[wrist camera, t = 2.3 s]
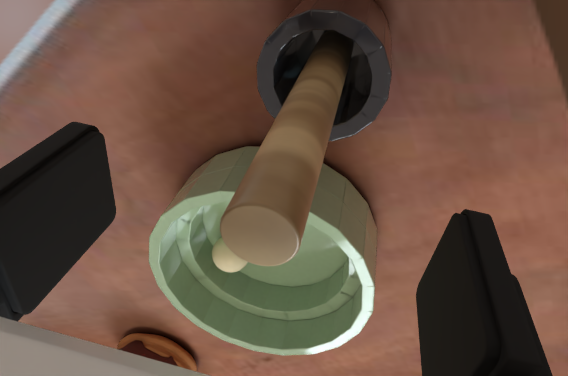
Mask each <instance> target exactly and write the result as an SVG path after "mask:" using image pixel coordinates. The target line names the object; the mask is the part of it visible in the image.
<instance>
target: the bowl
mask: <svg viewBox="0 0 568 376" xmlns="http://www.w3.org/2000/svg"><path fill="white" fill-rule="evenodd" d="M259 148H260V147H256V146H247V147H242V148H239V149H235V150H232V151H228V152H225V153H221V154H217V155H215V156H214V157H213V158H211V159H210V160H209V161H207V162H206V163H205V164H203V165H202V166H201V167H199V168H198V169H196V170H195V171H194V172H193V174H192V175H191V176H190V178H189V179H188V180H187V182H186V183H185V184H184V186H183V187H182V188H181V190H180V191H179V192H178V194H177V195H176V196H175V198H174V199H173V200H172V202H171V203H170V204H169V206H168V207H167V208H166V210H165V211H164V212H163V214H162V215H161V217H160V219H159V220H158V222H157V224H156V226H155V228H154V230H153V231H152V233H151V235H150V238H149V264H150V266H151V269H152V271H153V274H154V277H155V279H156V282H157V284H158V286H159V288H160V289H161V290H162V291H163V293H164V294H165V295H166V297H167V298H168V299H169V301H170V302H171V303H172V304H173V306H174V307H175V308H176V309H177V310H178V311H180V312H181V313H182V314H183V315H185V316H186V317H187V318H188V319H189V320H191V321H192V322H193V323H194V324H195V325H197V326H198V327H200V328H202V329H204V330H205V331H207V332H209V333H211V334H213V335H215V336H216V337H218V338H220V339H222V340H224V341H227V342H230V343H232V344H235V345H238V346H241V347H244V348H247V349H250V350H254V351H258V352H264V353H271V354H277V355H305V354H316V353H319V352H323V351H326V350H330V349H333V348H337V347H339V346H341V345H343V344H344V343H346V342H347V341H349V340H350V339H351V338H353V337H354V336H356V335H357V334H359V333H360V332H361V330H362V329H363V327H364V325H365V324H366V322H367V321H368V319H369V317H370V316H371V314H372V313H373V308H374V294H375V275H376V251H377V228H376V225H375V222H374V220H373V217H372V214H371V211H370V209H369V206H368V204H367V202H366V201H365V199H364V198H363V197H362V196H361V195H360V193H359V192H358V191H357V190H356V189H355V187H354V186H353V185H352V184H351V183H350V181H349V180H348V179H346V178H345V177H344V176H342V175H341V174H339V173H338V172H336V171H335V170H333V169H332V168H330V167H329V166H327V165H326V164H324V163H323V164H322V167H321V171H320V175H319V178H318V182H317V186H316V190H315V193H314V197H313V201H312V204H311V208H310V212H309V216H308V219H307V223H306V227H305V231H304V234H303V238H302V242H301V245H300V249H299V251H298V253H297V254H296V255H295V256H294V257H293V258H292V259H291V260H289V261H288V262H286V263H284V264H281V265H277V266H260V265H255V264H252V263H249V262H248V263H247V264H246V266H245V267H244V268H242V269H241V270H239V271H237V272H232V273H230V272H225V271H222V270H221V269H219V268H218V267H217V266H216V265H215V263H214V261H213V258H212V250H213V246H214V244H215V243H216V241H217V240H218V239H219V238H221V237H222V236H221V233H220V221H221V217H222V215H223V214H224V212H225V210H226V208H227V206H228V204H229V203H230V201H231V199H232V197H233V195H234V194H235V192H236V190H237V188H238V186H239V184H240V183H241V181H242V179H243V177H244V175H245V174H246V172H247V170H248V168H249V166H250V164H251V163H252V161H253V159H254V157H255V155H256V153H257V152H258V150H259Z"/></svg>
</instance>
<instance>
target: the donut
mask: <svg viewBox="0 0 568 376" xmlns="http://www.w3.org/2000/svg"><path fill="white" fill-rule="evenodd" d="M117 349H118V350H121V351H125V352H129V353H132V354H136V355H139V356H143V357H146V358H150V359H153V360H157V361H160V362H164V363H168V364H171V365H175V366H178V367H182V368H185V369H189V370H192V371H196V372H197V366H196V363H195V361H194V359H193V358H192V356H191V355H190V354H189V353H188V352H187V351H186V350H184V349H183V348H182V347H180V346H179V345H178V344H177V343H175V342H173V341H172V340H170V339H168V338H165V337H163V336H159V335H154V334H142V333H135V334H130V335H127V336H126V337H124V338H123V339H122V340H121V341H120V342H119V344H118V348H117Z"/></svg>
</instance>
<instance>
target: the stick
mask: <svg viewBox="0 0 568 376" xmlns="http://www.w3.org/2000/svg"><path fill="white" fill-rule="evenodd" d="M352 52H353V43H352V40H351V39H350V38H348V37H346V36H344V35H342V34H340V33H338V32H336V31H333V30H329V31H327V32H325V33H324V34H323V35H322V36H321V37H320V39H319V41H318V42H317V44H316V46H315V48H314V50H313V51H312V53H311V55H310V57H309V59H308V61H307V62H306V64H305V66H304V68H303V70H302V71H301V73H300V75H299V77H298V79H297V81H296V82H295V84H294V86H293V88H292V90H291V92H290V93H289V95H288V97H287V99H286V101H285V102H284V104H283V106H282V108H281V110H280V112H279V113H278V115H277V117H276V119H275V121H274V123H273V124H272V126H271V128H270V130H269V132H268V133H267V135H266V137H265V139H264V141H263V143H262V144H261V146H260V148H259V150H258V152H257V153H256V155H255V157H254V159H253V161H252V163H251V164H250V166H249V168H248V170H247V172H246V174H245V175H244V177H243V179H242V181H241V183H240V184H239V186H238V188H237V190H236V192H235V194H234V195H233V197H232V199H231V201H230V203H229V204H228V206H227V208H226V210H225V212H224V214H223V215H222V217H221V221H220V233H221V236H222V239H223V241H224V243H225V244H226V246H227V247H228V248H229V249H230V250H231V251H232V252H233V253H234V254H235V255H237V256H238V257H239V258H241V259H243V260H245V261H247V262H249V263H252V264H255V265H260V266H277V265H281V264H284V263H286V262H288V261H289V260H291V259H292V258H293V257H294V256H295V255H296V254H297V253H298V251H299V249H300V245H301V242H302V238H303V234H304V231H305V227H306V223H307V219H308V216H309V212H310V208H311V204H312V201H313V197H314V193H315V190H316V186H317V182H318V178H319V175H320V171H321V167H322V164H323V160H324V156H325V152H326V149H327V145H328V141H329V137H330V134H331V130H332V126H333V123H334V119H335V115H336V111H337V108H338V104H339V100H340V96H341V93H342V89H343V85H344V82H345V78H346V74H347V70H348V67H349V63H350V59H351V55H352Z"/></svg>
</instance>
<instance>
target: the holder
mask: <svg viewBox="0 0 568 376" xmlns="http://www.w3.org/2000/svg"><path fill="white" fill-rule="evenodd" d="M329 30H333V31H336V32H338V33H340V34H342V35H344V36H346V37H348V38H350V39H351V40H352V43H353V52H352V55H351V59H350V63H349V67H348V70H347V74H346V78H345V82H344V85H343V89H342V93H341V96H340V100H339V104H338V108H337V111H336V115H335V119H334V123H333V126H332V130H331V134H330V137H329V141H330V140H331V141H334V140H338V139H342V138H346V137H350V136H353V135H355V134H357V133H358V132H360V131H361V130H362V129H364V128H365V127H366V126H368V125H369V124H371V123H372V122H373V121H374V120H375V119H376V117H377V116H378V114H379V113H380V111H381V109H382V108H383V106H384V105H385V103H386V101H387V99H388V95H389V88H390V82H391V75H392V43H391V35H390V30H389V25H388V22H387V19H386V17H385V15H384V13H383V12H382V10H381V9H380V7H379V6H378V5H377V4H376V3H375V2H374V1H373V0H303V1H302V2H301V3H300V4H299V5H298V6H297V7H296V8H295V9H294V10H293V11H292V12H291V13H290V14H289V15H288V16H287V17H286V19H285V20H284V21H283V22H282V23H281V24H280V25H279V26H278V27H277V28H276V29H275V30H274V31H273V32H272V33H271V34H270V35H269V36H268V37H267V39H266V40H265V42H264V45H263V48H262V51H261V53H260V56H259V59H258V62H257V83H258V91H259V93H260V95H261V98H262V100H263V102H264V104H265V107H266V109H267V111H269V113H270V114H271V115H272V116H273V117H274V118H275V119H276V117H277V115H278V113H279V112H280V110H281V108H282V106H283V104H284V102H285V101H286V99H287V97H288V95H289V93H290V92H291V90H292V88H293V86H294V84H295V82H296V81H297V79H298V77H299V75H300V73H301V71H302V70H303V68H304V66H305V64H306V62H307V61H308V59H309V57H310V55H311V53H312V51H313V50H314V48H315V46H316V44H317V42H318V41H319V39H320V37H321V36H322V35H323V34H324V33H325V32H327V31H329Z"/></svg>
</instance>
